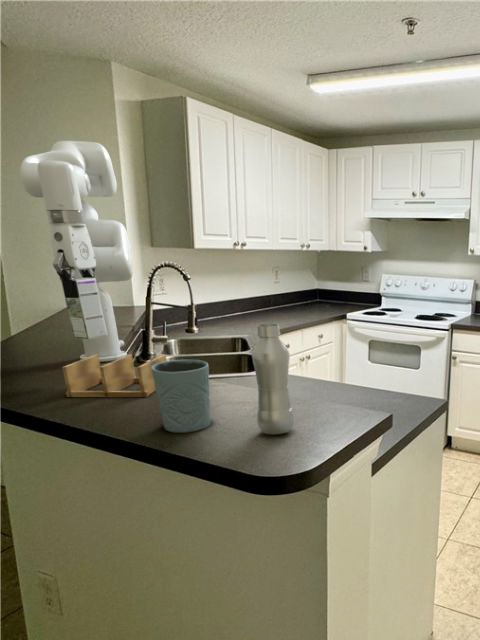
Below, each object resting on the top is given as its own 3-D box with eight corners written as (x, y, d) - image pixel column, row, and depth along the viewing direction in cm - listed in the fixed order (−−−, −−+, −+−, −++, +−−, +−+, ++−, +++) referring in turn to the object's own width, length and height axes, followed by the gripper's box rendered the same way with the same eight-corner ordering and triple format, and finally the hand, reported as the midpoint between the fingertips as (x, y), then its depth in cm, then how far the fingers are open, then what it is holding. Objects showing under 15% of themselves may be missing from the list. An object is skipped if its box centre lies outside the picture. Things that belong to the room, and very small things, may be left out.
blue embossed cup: (185, 415, 112) (177, 357, 108) (226, 420, 109) (219, 361, 105) (148, 430, 103) (138, 368, 99) (192, 437, 100) (183, 373, 96)
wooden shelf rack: (98, 381, 138) (93, 354, 135) (171, 381, 138) (167, 354, 135) (66, 397, 125) (60, 367, 122) (147, 397, 125) (142, 367, 122)
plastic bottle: (261, 427, 105) (251, 322, 98) (296, 426, 105) (289, 322, 98) (255, 439, 99) (244, 328, 92) (293, 438, 99) (285, 327, 92)
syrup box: (108, 335, 140) (97, 277, 135) (88, 339, 135) (75, 278, 130) (93, 334, 142) (81, 277, 137) (72, 338, 137) (59, 278, 132)
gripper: (60, 218, 121) (77, 300, 127) (101, 220, 137) (114, 292, 143) (27, 218, 121) (45, 299, 127) (71, 220, 137) (85, 292, 143)
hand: (81, 295), depth 135 cm, fingers closed on syrup box, 7 cm apart
